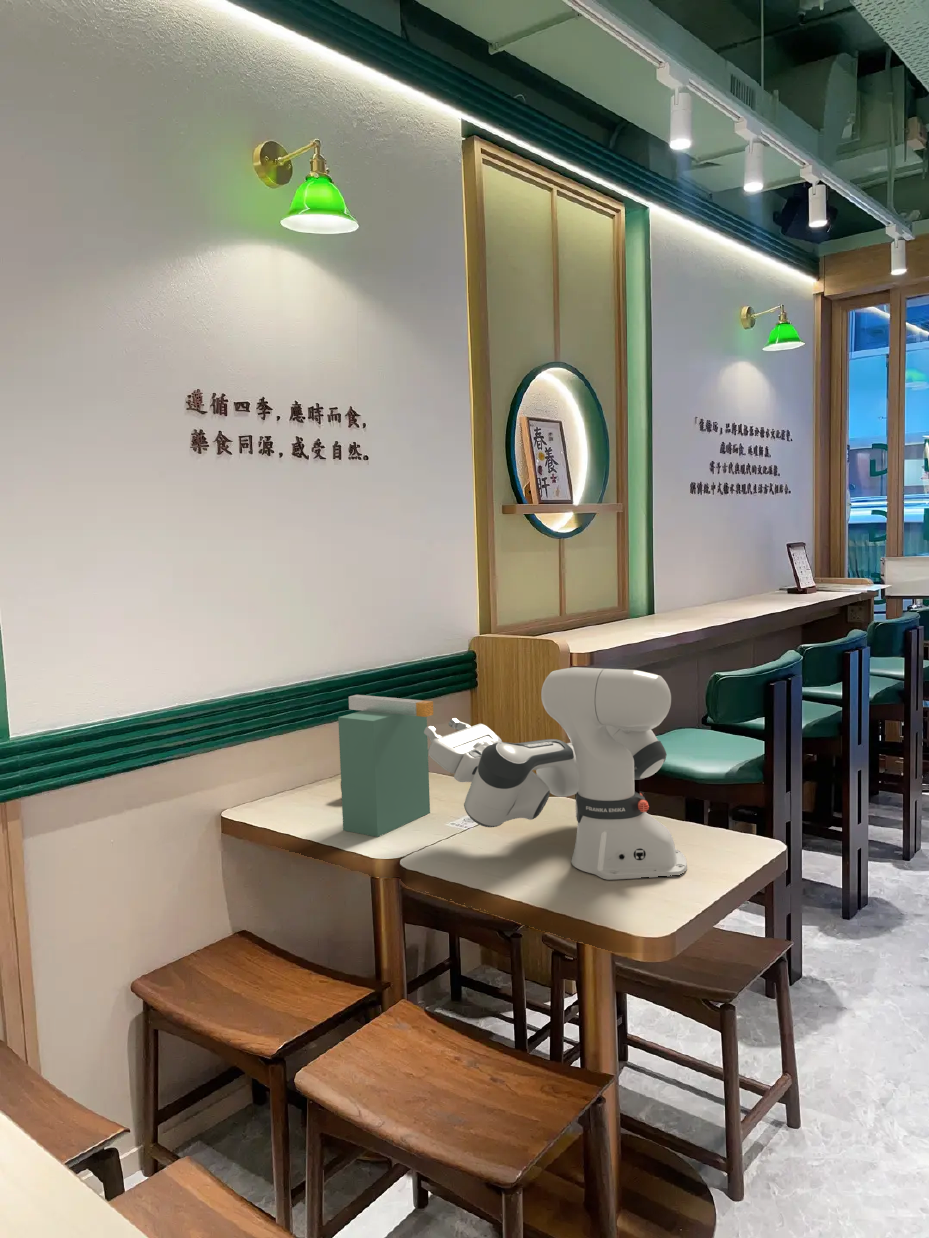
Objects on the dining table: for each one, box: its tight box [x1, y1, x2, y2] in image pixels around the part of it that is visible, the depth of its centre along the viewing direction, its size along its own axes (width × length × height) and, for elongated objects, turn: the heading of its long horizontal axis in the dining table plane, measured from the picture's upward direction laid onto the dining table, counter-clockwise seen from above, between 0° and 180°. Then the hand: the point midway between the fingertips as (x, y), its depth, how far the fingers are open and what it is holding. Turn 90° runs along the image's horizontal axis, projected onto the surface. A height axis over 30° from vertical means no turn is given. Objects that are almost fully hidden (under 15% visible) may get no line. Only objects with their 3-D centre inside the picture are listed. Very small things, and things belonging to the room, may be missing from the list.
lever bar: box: [348, 694, 434, 718], centre depth 213 cm, size 22×3×3 cm, turn 57°
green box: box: [337, 710, 431, 838], centre depth 215 cm, size 10×20×26 cm, turn 147°
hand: (439, 724), depth 206 cm, fingers open, 8 cm apart
